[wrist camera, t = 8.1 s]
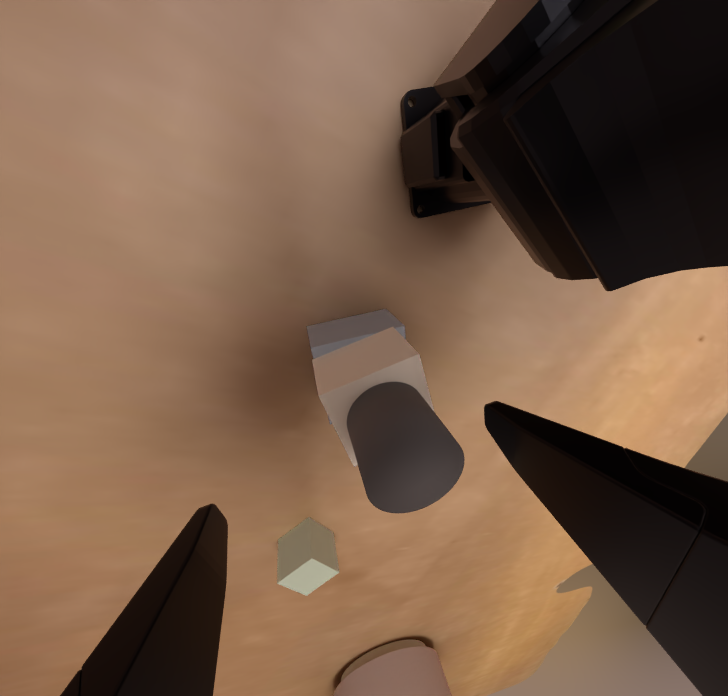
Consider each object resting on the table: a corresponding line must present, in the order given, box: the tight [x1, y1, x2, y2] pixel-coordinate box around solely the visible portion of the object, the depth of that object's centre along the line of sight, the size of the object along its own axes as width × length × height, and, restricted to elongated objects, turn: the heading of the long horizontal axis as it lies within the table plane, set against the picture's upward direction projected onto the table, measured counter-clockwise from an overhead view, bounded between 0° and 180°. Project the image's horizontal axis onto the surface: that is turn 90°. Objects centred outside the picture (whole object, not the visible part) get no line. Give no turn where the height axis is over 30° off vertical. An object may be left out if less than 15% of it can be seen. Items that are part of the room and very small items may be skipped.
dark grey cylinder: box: [347, 382, 464, 513], centre depth 14 cm, size 4×4×4 cm
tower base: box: [307, 309, 406, 424], centre depth 21 cm, size 6×6×4 cm
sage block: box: [277, 517, 339, 596], centre depth 28 cm, size 4×4×4 cm
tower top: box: [312, 327, 434, 467], centre depth 17 cm, size 5×5×4 cm
